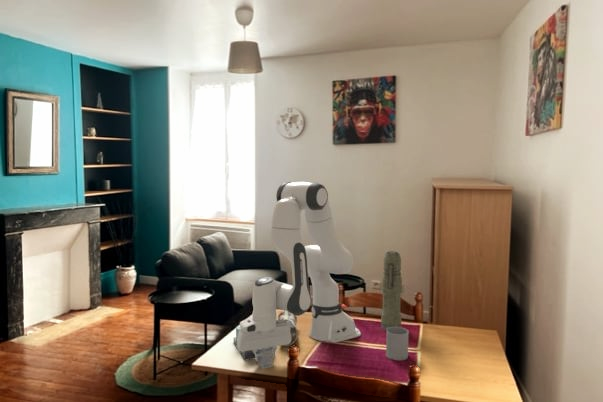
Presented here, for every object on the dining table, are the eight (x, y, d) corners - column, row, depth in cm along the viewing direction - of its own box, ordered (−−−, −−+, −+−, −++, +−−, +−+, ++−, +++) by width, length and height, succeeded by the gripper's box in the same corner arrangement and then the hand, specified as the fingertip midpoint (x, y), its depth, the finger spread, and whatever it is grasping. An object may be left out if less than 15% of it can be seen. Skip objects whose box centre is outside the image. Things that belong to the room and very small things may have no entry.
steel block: (267, 359, 166) (267, 344, 166) (272, 366, 161) (272, 350, 160) (257, 361, 165) (257, 346, 164) (261, 368, 159) (261, 352, 159)
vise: (261, 338, 187) (261, 322, 187) (274, 355, 171) (274, 337, 170) (233, 342, 183) (233, 326, 182) (244, 360, 166) (244, 342, 166)
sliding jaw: (261, 335, 184) (261, 323, 184) (263, 337, 182) (263, 326, 181) (236, 339, 180) (236, 327, 180) (237, 341, 178) (237, 329, 177)
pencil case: (297, 347, 179) (297, 323, 178) (276, 347, 178) (276, 323, 178) (296, 327, 200) (296, 306, 200) (278, 327, 200) (278, 306, 199)
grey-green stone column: (401, 324, 204) (402, 250, 201) (401, 334, 192) (402, 255, 189) (381, 323, 206) (383, 249, 203) (380, 332, 194) (381, 254, 191)
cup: (395, 362, 165) (395, 336, 164) (381, 353, 172) (382, 328, 171) (412, 357, 169) (413, 332, 168) (398, 349, 176) (398, 325, 175)
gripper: (287, 315, 168) (287, 350, 169) (235, 322, 161) (235, 359, 162) (293, 321, 162) (293, 357, 164) (239, 328, 155) (240, 366, 156)
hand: (264, 358), depth 163 cm, fingers closed on steel block, 4 cm apart
